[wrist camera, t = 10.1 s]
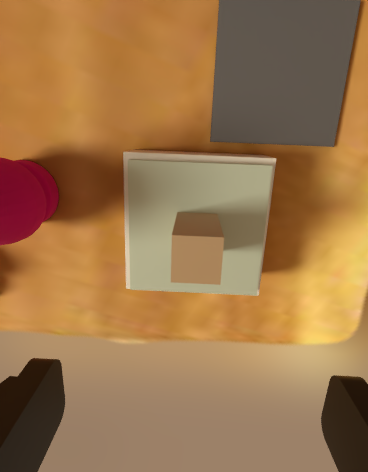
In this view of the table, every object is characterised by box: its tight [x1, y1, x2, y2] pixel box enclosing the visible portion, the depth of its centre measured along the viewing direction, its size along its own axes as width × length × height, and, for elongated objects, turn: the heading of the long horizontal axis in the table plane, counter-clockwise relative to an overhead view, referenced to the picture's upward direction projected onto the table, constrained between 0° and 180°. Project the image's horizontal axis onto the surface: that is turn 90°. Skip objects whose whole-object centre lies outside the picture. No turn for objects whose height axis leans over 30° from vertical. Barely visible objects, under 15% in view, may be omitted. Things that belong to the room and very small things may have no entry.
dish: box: [123, 150, 276, 295], centre depth 28 cm, size 12×12×4 cm
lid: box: [128, 159, 273, 296], centre depth 22 cm, size 11×11×7 cm
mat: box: [210, 0, 361, 147], centre depth 26 cm, size 11×11×1 cm
